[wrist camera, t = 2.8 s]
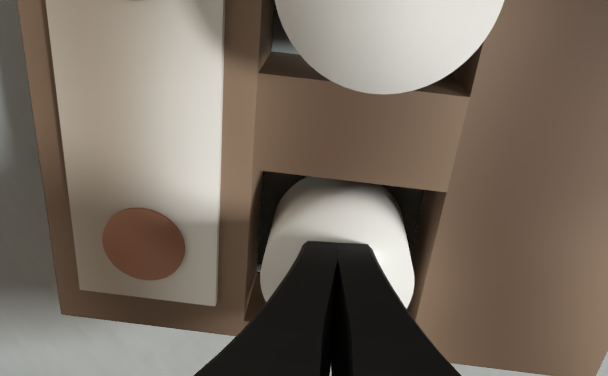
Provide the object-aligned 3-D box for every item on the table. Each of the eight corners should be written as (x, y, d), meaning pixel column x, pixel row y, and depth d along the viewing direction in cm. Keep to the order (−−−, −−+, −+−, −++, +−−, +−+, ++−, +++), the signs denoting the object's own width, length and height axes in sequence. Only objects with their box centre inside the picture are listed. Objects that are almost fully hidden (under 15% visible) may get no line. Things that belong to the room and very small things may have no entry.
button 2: (415, 178, 12) (428, 226, 10) (391, 290, 13) (399, 351, 11) (278, 162, 12) (264, 206, 10) (269, 274, 14) (255, 332, 12)
